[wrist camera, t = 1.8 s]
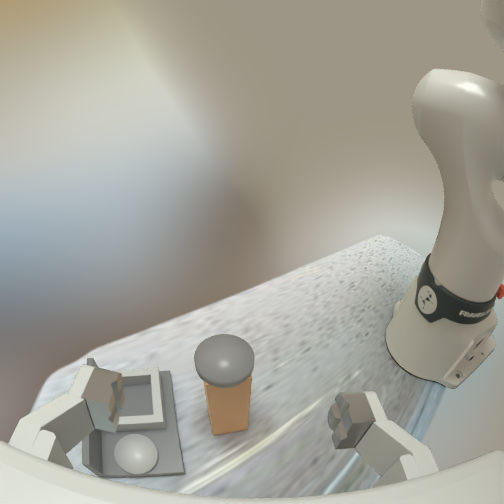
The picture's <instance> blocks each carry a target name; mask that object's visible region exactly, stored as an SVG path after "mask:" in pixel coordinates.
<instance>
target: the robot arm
mask: <svg viewBox="0 0 504 504" xmlns="http://www.w3.org/2000/svg"><path fill="white" fill-rule="evenodd" d="M480 5H481V20H482V23H483V26H484V28H485V30H486V32H487V34H488V35H489V36H490V38H491V39H492V40H493V41H494V42H495V44H496V45H497V46H498V47H499V48H500V49H501V50H503V52H504V0H480ZM412 113H413V119H414V123H415V126H416V129H417V131H418V134H419V135H420V137H421V139H422V140H423V141H424V143H425V144H426V145H427V147H428V148H429V150H430V151H431V153H432V155H433V156H434V159H435V161H436V163H437V165H438V168H439V170H440V174H441V177H442V181H443V186H444V197H445V198H444V212H443V217H442V221H441V225H440V229H439V232H438V235H437V238H436V241H435V244H434V247H433V250H432V253H430V254H429V255H428V256H427V258H426V260H425V262H424V263H423V265H422V267H421V271H420V273H419V276H416V277H415V278H414V280H413V282H412V283H411V285H410V287H409V289H408V291H407V292H406V294H405V296H404V298H403V299H402V301H398V302H396V304H395V306H394V308H393V318H392V320H391V321H390V323H389V324H388V326H387V329H386V343H387V346H388V349H389V351H390V353H391V355H392V356H393V358H394V359H395V360H396V361H397V363H398V364H399V365H400V366H401V367H403V368H404V369H405V370H406V371H408V372H410V373H411V374H413V375H415V376H417V377H420V378H423V379H427V380H433V381H437V382H439V383H441V384H443V385H444V386H446V387H448V388H451V389H455V388H457V387H458V386H459V385H460V384H461V383H462V382H463V381H464V380H465V379H466V378H467V377H468V376H469V375H470V374H471V373H472V372H473V371H474V370H475V369H476V368H477V367H478V366H479V365H480V364H481V363H482V362H483V361H484V360H485V359H486V358H487V357H488V356H489V355H490V354H491V353H492V351H493V350H494V348H495V347H496V344H495V340H494V337H493V335H492V332H493V330H494V329H495V327H496V325H497V322H498V321H497V316H496V313H495V311H494V309H493V307H494V304H495V303H494V302H495V299H496V296H497V297H498V299H501V298H502V297H503V296H504V285H502V284H501V283H502V281H503V279H504V210H503V208H502V207H501V206H500V205H499V204H498V202H497V200H496V199H495V197H494V194H493V192H492V183H493V181H495V180H499V181H501V180H502V181H503V182H504V85H502V84H500V83H497V82H495V81H492V80H489V79H487V78H484V77H482V76H479V75H476V74H473V73H470V72H463V71H456V70H446V69H434V70H432V71H430V72H429V73H428V74H426V75H425V76H424V77H423V78H422V79H421V81H420V82H419V84H418V86H417V88H416V90H415V92H414V96H413V102H412ZM122 381H123V378H122V374H121V373H118V372H114V371H110V370H106V369H102V368H98V367H93V366H90V365H86V364H83V365H82V366H81V368H80V370H79V372H78V374H77V376H76V378H75V380H74V382H73V384H72V386H71V388H70V391H69V393H68V394H63V395H61V396H59V397H58V398H56V399H54V400H53V401H51V402H49V403H47V404H46V405H44V406H42V407H41V408H39V409H37V410H36V411H34V412H32V413H30V414H29V415H27V416H25V417H23V418H22V419H20V421H19V423H18V426H17V427H16V429H15V431H14V433H13V435H12V437H11V440H10V442H9V444H7V443H5V442H3V441H1V440H0V504H504V452H503V451H501V450H494V451H491V452H489V453H487V454H484V455H482V456H479V457H477V458H474V459H472V460H469V461H467V462H464V463H461V464H458V465H456V466H453V467H450V468H447V469H444V470H441V471H439V468H438V466H437V464H436V462H435V460H434V458H433V455H432V453H431V451H430V449H429V448H428V447H426V446H425V445H424V444H422V443H421V442H420V441H418V440H417V439H415V438H414V437H413V436H411V435H410V434H409V433H407V432H406V431H405V430H403V429H402V428H401V427H399V426H398V425H397V424H395V423H394V422H393V421H391V420H388V419H387V417H386V415H385V413H384V410H383V408H382V406H381V403H380V401H379V399H378V397H377V395H376V393H375V392H374V391H369V392H343V393H339V394H337V396H336V398H335V400H336V403H335V404H333V405H332V406H331V408H330V410H329V413H328V424H329V427H330V428H331V429H332V430H333V431H334V433H333V435H332V439H333V442H334V446H335V449H346V448H354V449H355V450H356V451H357V452H358V453H359V454H360V455H361V456H362V457H363V458H364V459H365V461H366V462H367V463H368V464H369V465H370V466H371V467H372V468H373V469H374V470H375V471H376V472H377V473H378V474H379V475H380V476H381V477H380V478H379V479H378V480H377V481H376V482H375V483H374V484H373V486H372V487H373V488H369V489H363V490H357V491H351V492H344V493H337V494H328V495H319V496H308V497H293V498H225V497H210V496H199V495H189V494H181V493H173V492H167V491H160V490H154V489H149V488H143V487H138V486H133V485H129V484H124V483H120V482H115V481H111V480H107V479H104V478H100V477H96V476H93V475H89V474H86V473H82V472H79V471H76V470H73V466H72V464H71V463H70V461H69V459H68V458H67V456H66V453H68V452H69V451H70V450H71V449H72V448H73V447H75V446H76V445H77V444H78V443H79V442H80V441H82V440H83V439H84V438H85V437H86V436H88V435H89V434H90V433H91V432H92V431H93V430H94V428H95V429H99V430H104V431H108V432H113V433H116V429H117V426H118V423H119V415H118V413H119V412H121V411H122V409H123V405H124V399H125V391H124V387H123V386H122V385H121V384H122Z"/></svg>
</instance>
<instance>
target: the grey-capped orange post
mask: <svg viewBox="0 0 504 504" xmlns="http://www.w3.org/2000/svg"><path fill="white" fill-rule="evenodd" d="M194 361H195V367H196V371H197V373H198V375H199V376H200V378H201V379H202V380H204V387H205V394H206V400H207V407H208V412H209V417H210V421H211V426H212V431H213V435H218V434H225V433H231V432H236V431H242V430H247V428H248V417H249V405H250V394H251V382H252V376H251V374H252V371H253V368H254V352H253V350H252V348H251V346H250V345H249V344H248V343H247V342H246V341H245V340H243V339H241V338H239V337H237V336H234V335H228V334H220V335H215V336H212V337H209V338H207V339H205V340H204V341H203V342H202V343H200V345H199V346H198V347H197V349H196V351H195V355H194Z"/></svg>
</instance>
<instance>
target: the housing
mask: <svg viewBox="0 0 504 504" xmlns="http://www.w3.org/2000/svg"><path fill="white" fill-rule="evenodd" d="M87 365H90V366H93V367H98V366H97V364H96V363H95V361H94V359H93V358H87ZM114 372H118V373H121V374H122V378H123V381H122V384H121V385H122V386H123V387H124V391H125V399H124V405H123V409H122V411H121V412H119V413H118V415H119V423H118V426H117V429H116V433H113V432H108V431H104V430H99V429H95V428H94V430H93V431H92V432H91V433H90V434H89V435H88V436H86V437H85V438H84V439H83V440H82V464H83V465H84V466H85V467H87V468H88V469H89V470H91V471H92V472H93V473H95V474H96V475H98V476H99V477H150V476H166V475H178V474H185V470H184V465H183V459H182V453H181V447H180V441H179V434H178V427H177V420H176V413H175V406H174V398H173V389H172V381H171V373H170V371H159V368H158V367H155V368H144V369H132V370H118V371H114Z"/></svg>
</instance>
